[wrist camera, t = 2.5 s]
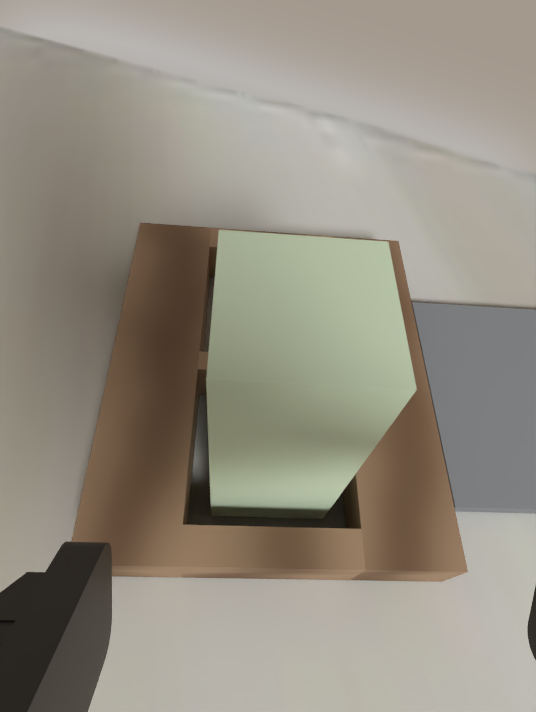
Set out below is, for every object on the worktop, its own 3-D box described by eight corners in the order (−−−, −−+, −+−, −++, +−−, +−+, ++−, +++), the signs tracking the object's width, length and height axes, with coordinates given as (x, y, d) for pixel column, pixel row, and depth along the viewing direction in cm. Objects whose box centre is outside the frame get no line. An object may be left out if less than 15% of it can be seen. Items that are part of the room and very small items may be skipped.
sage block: (211, 515, 21) (206, 379, 11) (217, 413, 24) (218, 229, 14) (322, 518, 21) (416, 389, 11) (316, 417, 24) (388, 241, 14)
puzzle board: (82, 575, 19) (66, 564, 17) (145, 254, 29) (140, 222, 27) (441, 581, 20) (467, 571, 18) (385, 270, 30) (398, 241, 28)
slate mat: (450, 510, 22) (455, 507, 22) (408, 308, 29) (412, 302, 28) (632, 515, 23) (641, 512, 22) (550, 317, 29) (556, 310, 29)
